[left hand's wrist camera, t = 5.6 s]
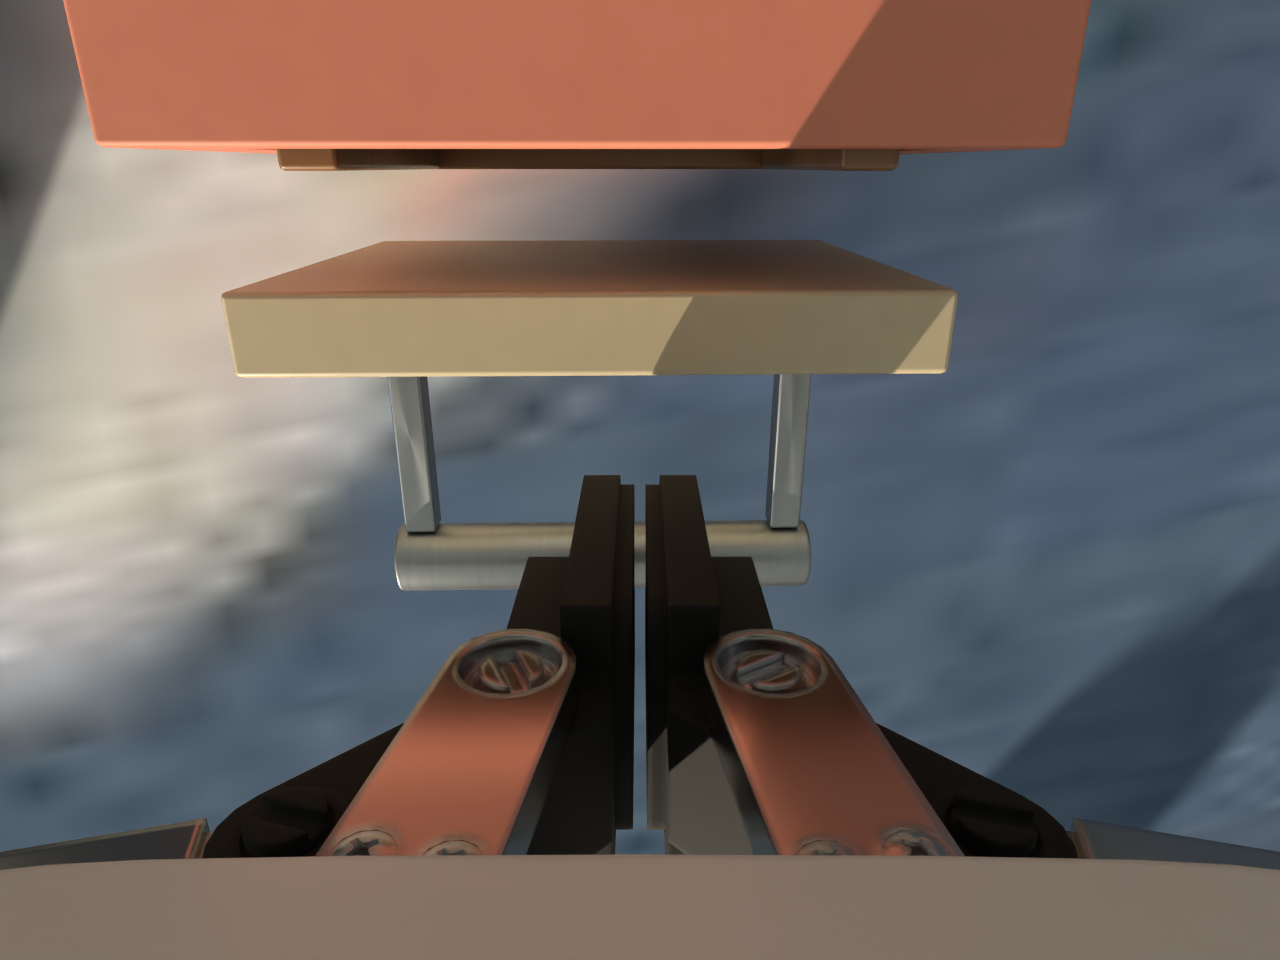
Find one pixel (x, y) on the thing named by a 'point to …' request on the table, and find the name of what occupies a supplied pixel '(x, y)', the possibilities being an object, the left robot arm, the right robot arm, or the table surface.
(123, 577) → the table surface
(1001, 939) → the left robot arm
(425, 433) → the drawer
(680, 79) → the cabinet
